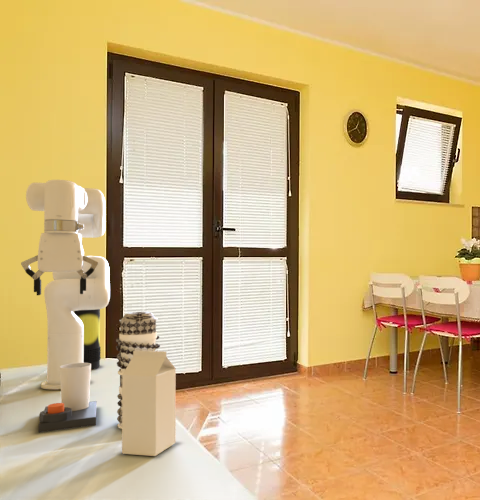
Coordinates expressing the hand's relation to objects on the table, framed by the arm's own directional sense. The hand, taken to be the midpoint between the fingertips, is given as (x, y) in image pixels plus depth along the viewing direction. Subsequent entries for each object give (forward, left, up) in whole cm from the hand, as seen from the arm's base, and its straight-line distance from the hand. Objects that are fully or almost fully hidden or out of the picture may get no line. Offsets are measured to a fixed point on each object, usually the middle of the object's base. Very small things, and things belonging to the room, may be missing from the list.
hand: (60, 294), depth 132 cm
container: (-49, +4, -28) cm, 57 cm away
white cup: (+12, +4, -27) cm, 30 cm away
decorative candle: (+26, +17, -28) cm, 42 cm away
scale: (+16, +3, -28) cm, 32 cm away
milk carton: (+44, +18, -28) cm, 55 cm away
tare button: (+20, 0, -25) cm, 32 cm away
